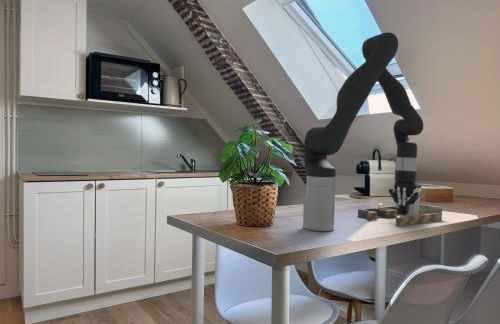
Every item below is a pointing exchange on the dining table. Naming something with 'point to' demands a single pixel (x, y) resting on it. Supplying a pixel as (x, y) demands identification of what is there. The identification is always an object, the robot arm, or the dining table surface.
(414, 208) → the cup
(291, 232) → the dining table surface
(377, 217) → the mats
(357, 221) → the dining table surface
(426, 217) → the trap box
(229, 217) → the dining table surface
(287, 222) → the dining table surface
